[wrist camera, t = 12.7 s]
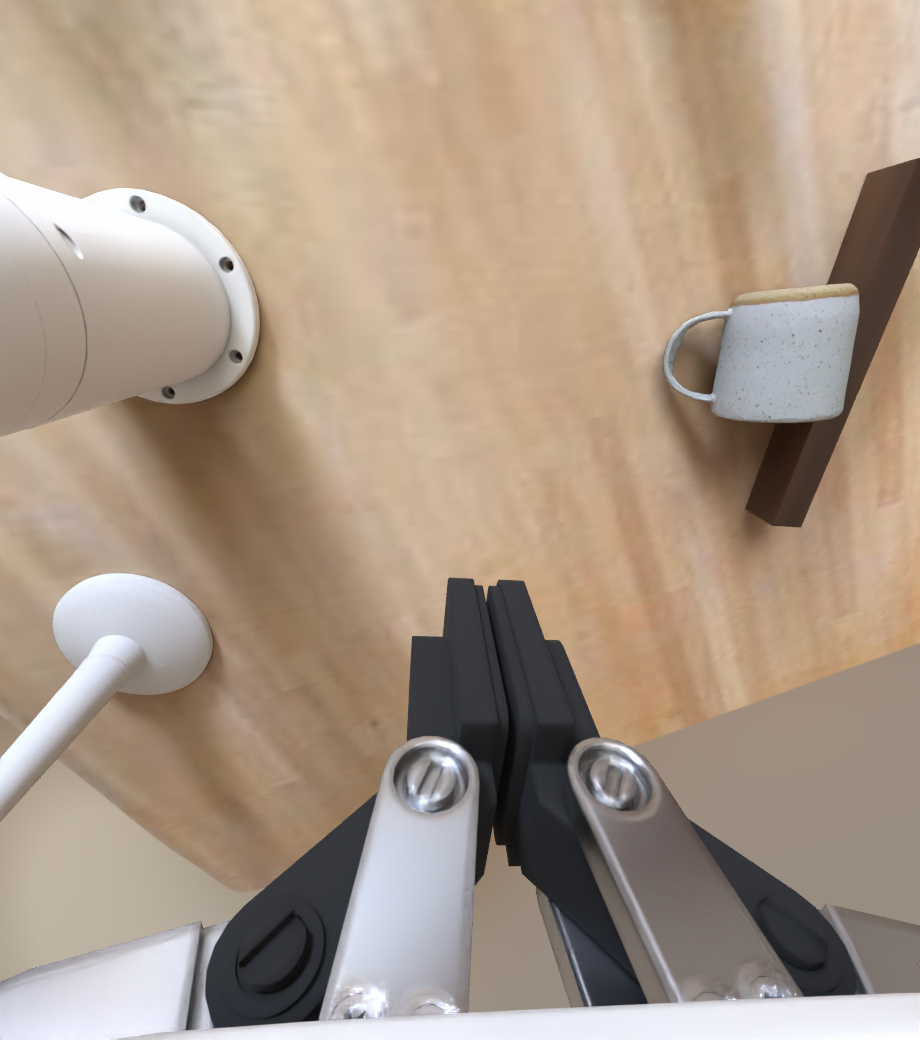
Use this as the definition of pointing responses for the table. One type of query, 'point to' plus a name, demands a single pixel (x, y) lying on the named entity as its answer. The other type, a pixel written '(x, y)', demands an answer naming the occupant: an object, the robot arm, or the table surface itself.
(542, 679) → the robot arm
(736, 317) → the ceramic mug
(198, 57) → the table surface
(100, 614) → the candlestick
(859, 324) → the board
